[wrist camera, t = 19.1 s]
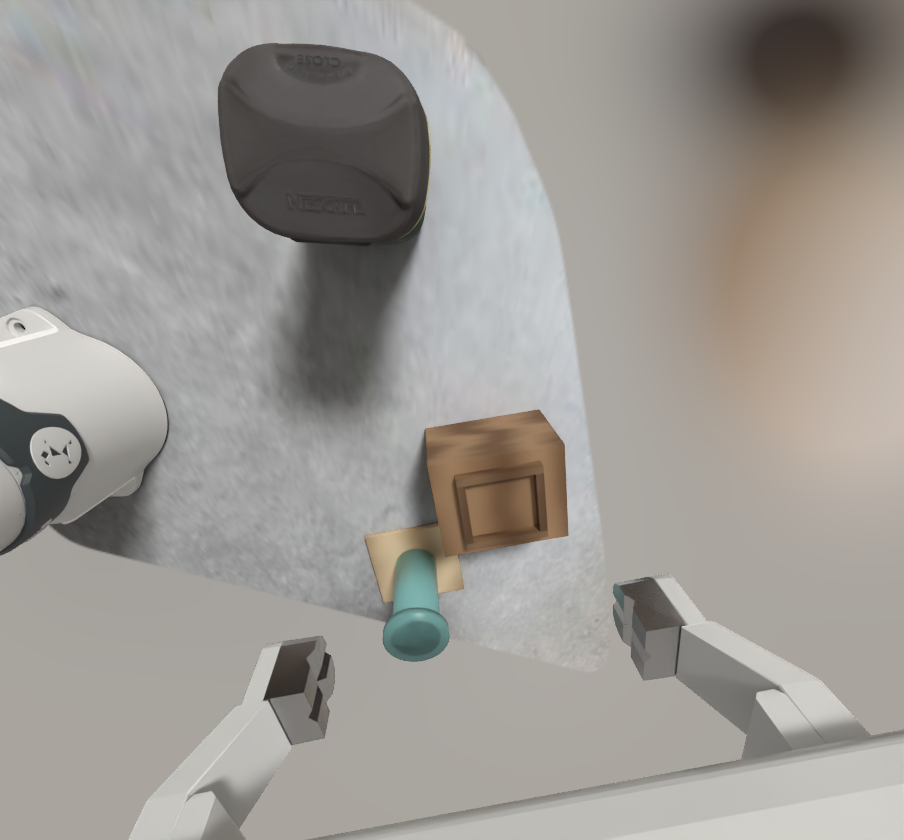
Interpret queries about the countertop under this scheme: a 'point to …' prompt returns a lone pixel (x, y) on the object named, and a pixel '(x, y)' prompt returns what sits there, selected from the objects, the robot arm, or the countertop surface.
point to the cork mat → (396, 542)
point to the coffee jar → (325, 144)
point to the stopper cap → (416, 610)
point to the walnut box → (497, 482)
